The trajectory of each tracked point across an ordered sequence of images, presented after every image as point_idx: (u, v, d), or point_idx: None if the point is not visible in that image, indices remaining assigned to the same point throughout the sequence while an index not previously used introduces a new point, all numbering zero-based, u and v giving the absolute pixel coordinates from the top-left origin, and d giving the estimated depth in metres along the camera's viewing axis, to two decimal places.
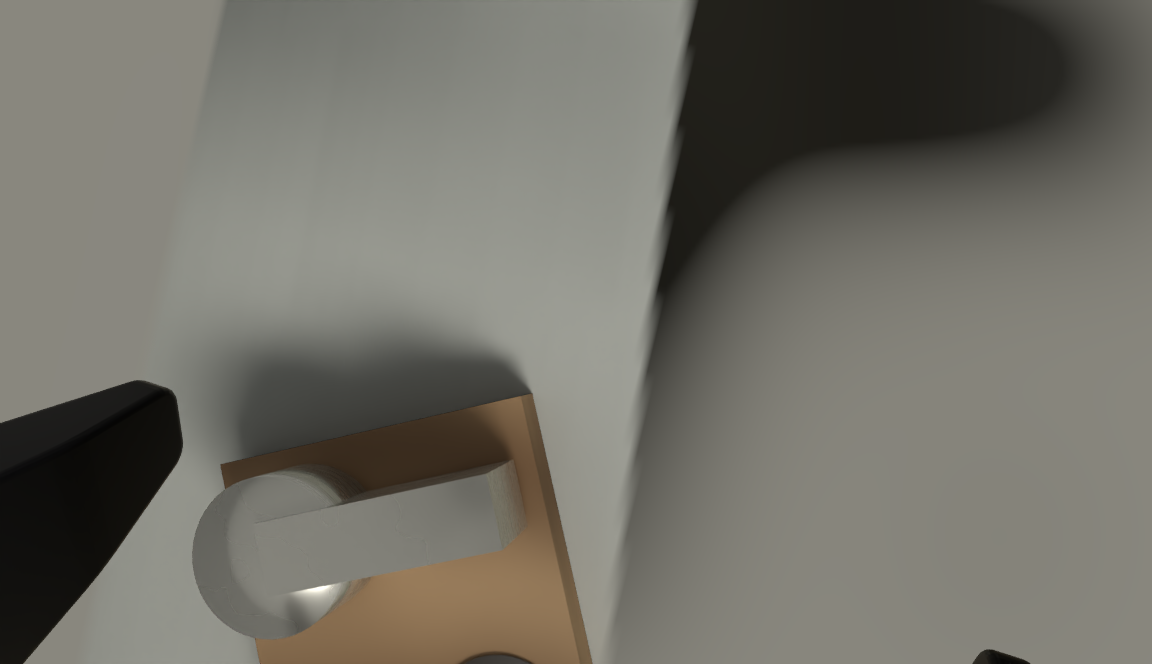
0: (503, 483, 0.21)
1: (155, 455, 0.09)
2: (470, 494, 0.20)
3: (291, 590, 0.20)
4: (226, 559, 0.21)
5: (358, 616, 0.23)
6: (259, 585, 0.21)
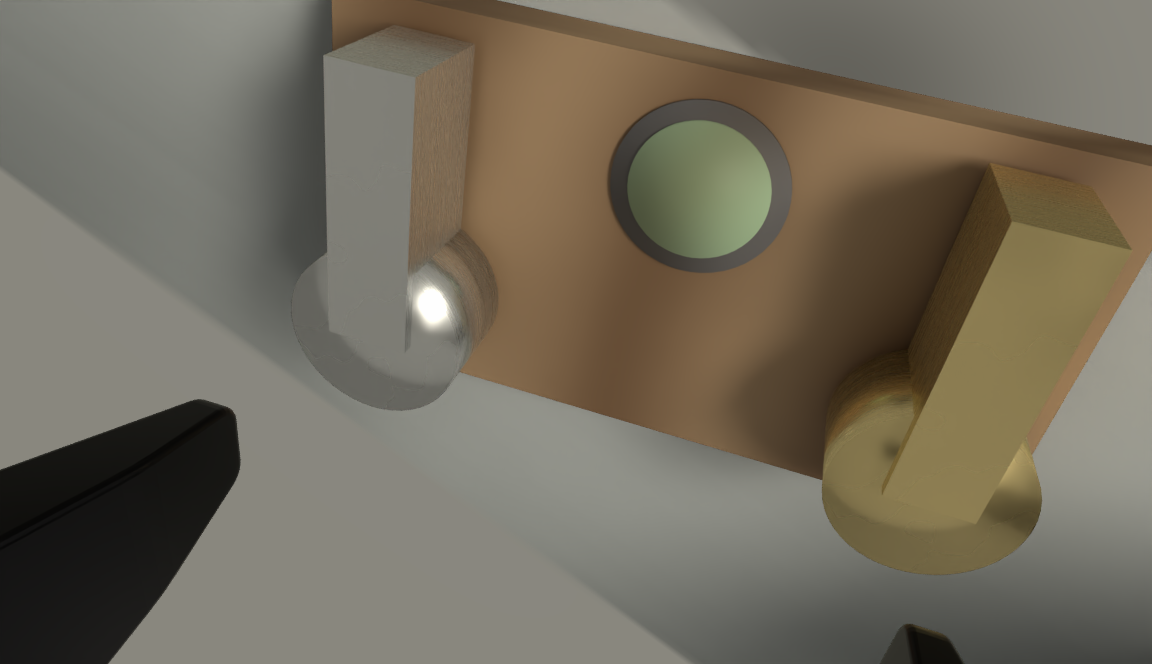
0: (379, 44, 0.16)
1: (215, 475, 0.09)
2: (343, 85, 0.15)
3: (404, 328, 0.18)
4: (365, 372, 0.19)
5: (522, 281, 0.20)
6: (399, 356, 0.19)
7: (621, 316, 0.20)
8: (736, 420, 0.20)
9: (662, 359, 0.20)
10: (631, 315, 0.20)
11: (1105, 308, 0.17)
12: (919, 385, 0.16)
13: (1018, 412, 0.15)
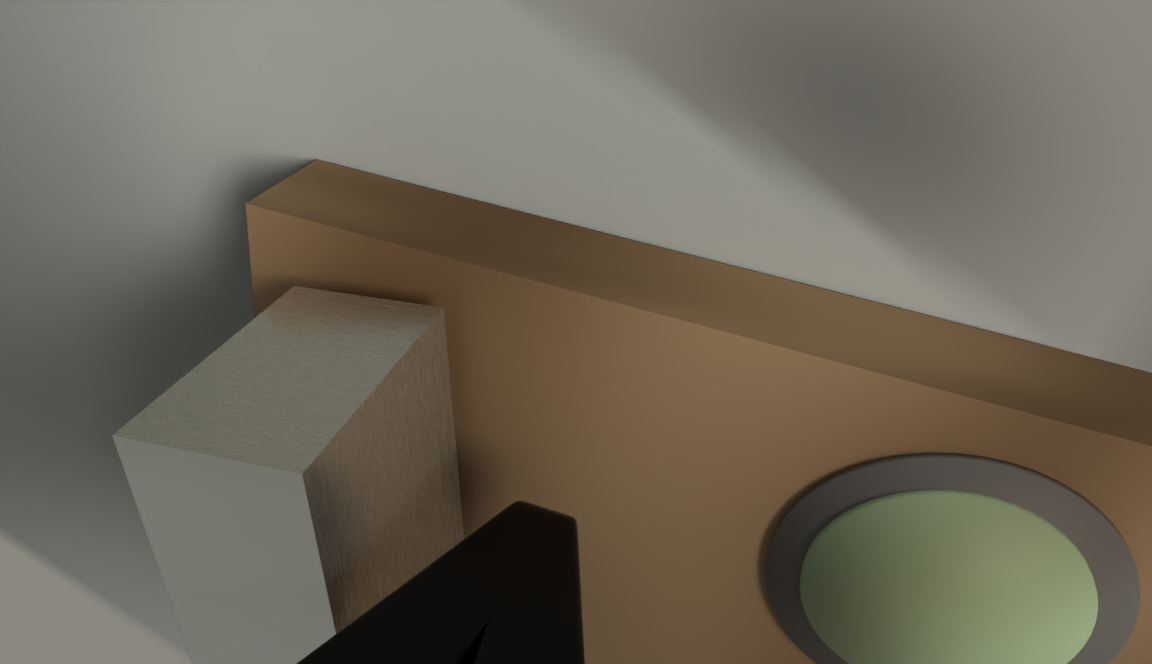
0: (249, 360, 0.08)
1: None
2: (164, 486, 0.07)
3: None
4: None
5: None
6: None
7: None
8: None
9: None
10: None
11: None
12: None
13: None
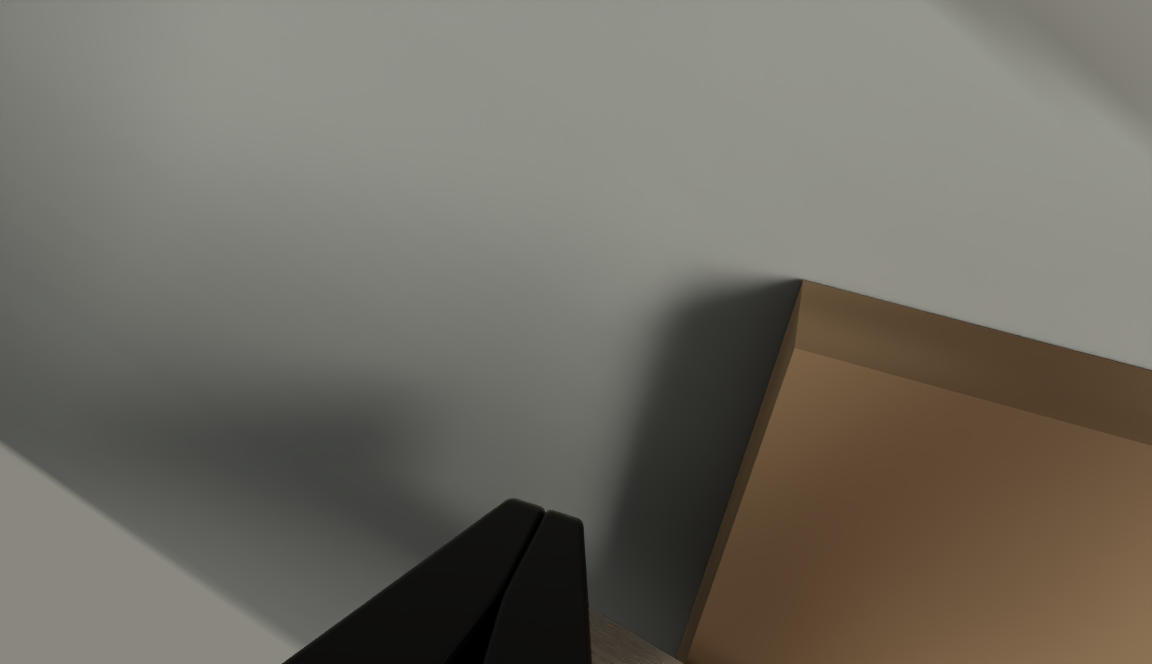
0: None
1: None
2: None
3: None
4: None
5: None
6: None
7: None
8: None
9: None
10: None
11: None
12: None
13: None
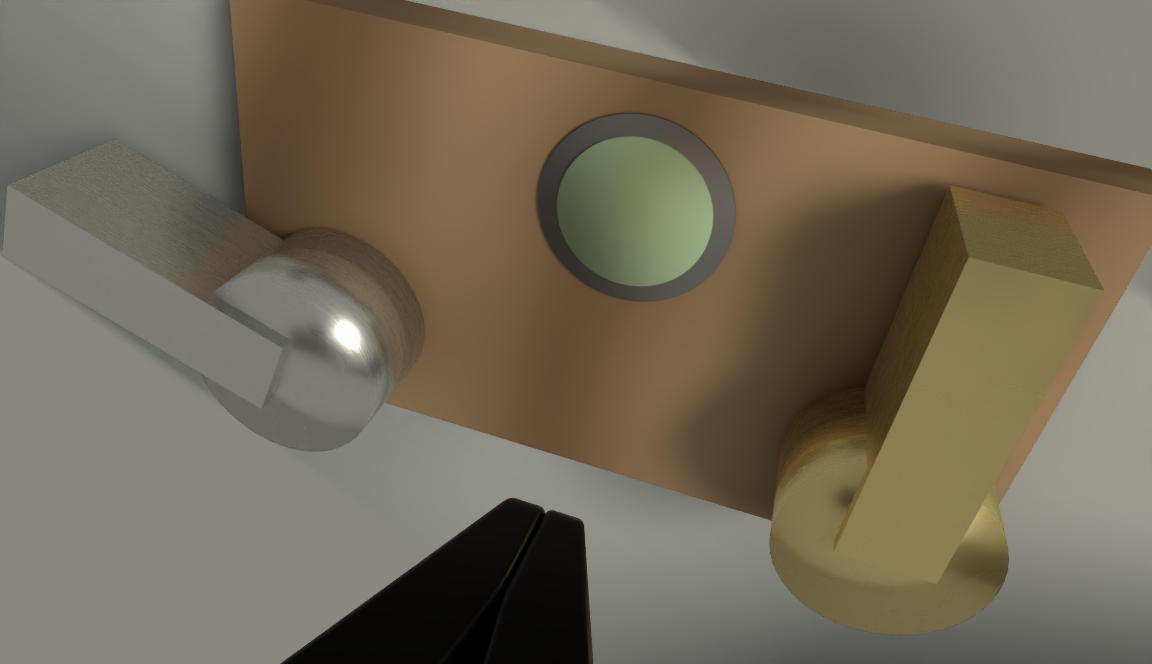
0: None
1: None
2: (23, 253, 0.17)
3: (254, 332, 0.16)
4: (323, 403, 0.17)
5: (450, 308, 0.18)
6: (303, 359, 0.17)
7: (557, 346, 0.18)
8: (684, 458, 0.19)
9: (603, 393, 0.18)
10: (568, 346, 0.18)
11: (1079, 343, 0.15)
12: (873, 431, 0.14)
13: (980, 466, 0.13)
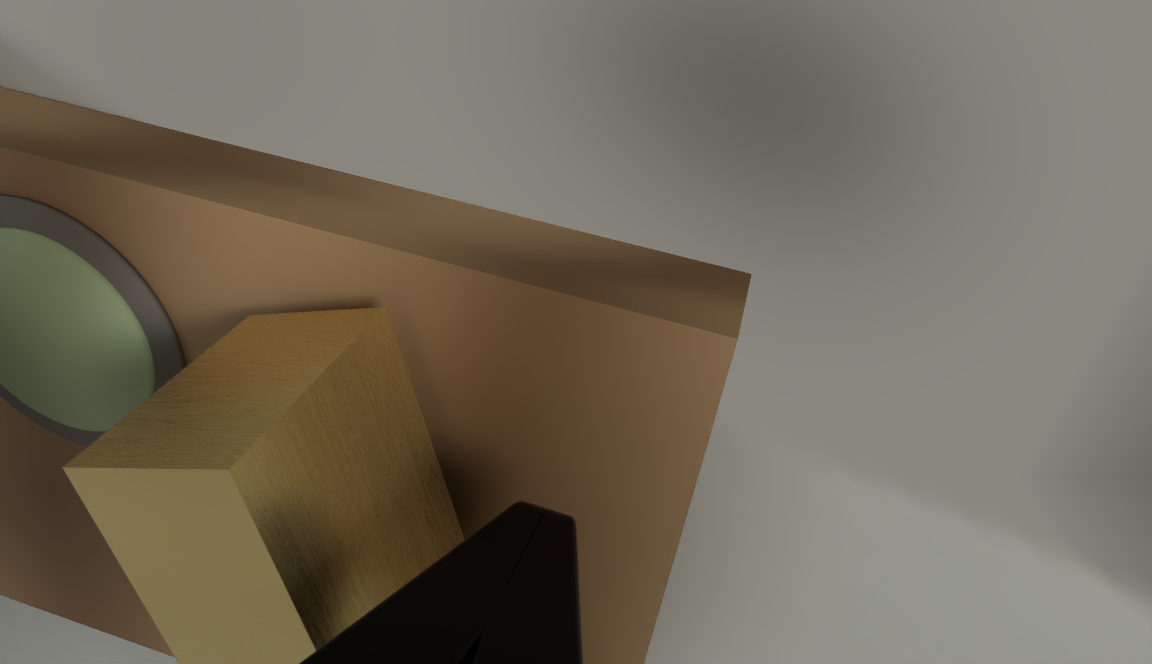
0: None
1: None
2: None
3: None
4: None
5: None
6: None
7: (43, 500, 0.13)
8: None
9: None
10: (56, 499, 0.13)
11: (663, 532, 0.10)
12: None
13: None
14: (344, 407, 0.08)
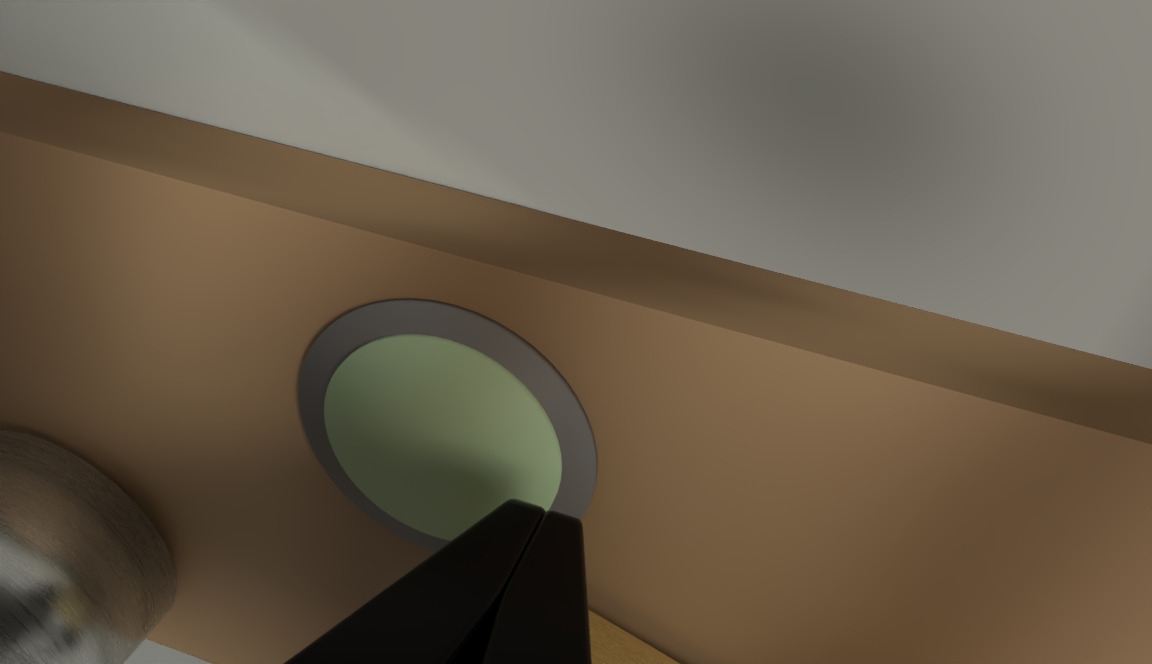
0: None
1: None
2: None
3: None
4: None
5: (210, 539, 0.13)
6: None
7: (363, 600, 0.12)
8: None
9: None
10: None
11: None
12: None
13: None
14: None
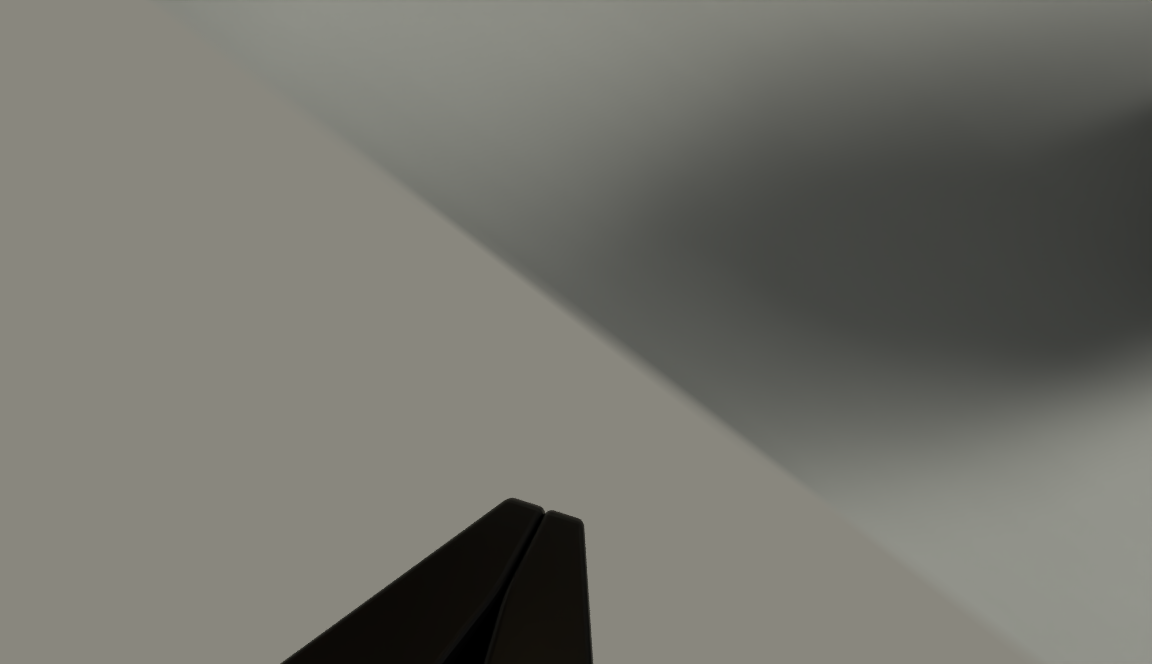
0: None
1: None
2: None
3: None
4: None
5: None
6: None
7: None
8: None
9: None
10: None
11: None
12: None
13: None
14: None
